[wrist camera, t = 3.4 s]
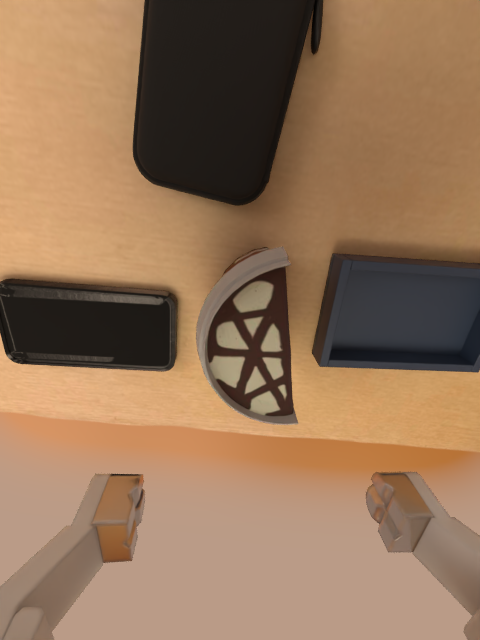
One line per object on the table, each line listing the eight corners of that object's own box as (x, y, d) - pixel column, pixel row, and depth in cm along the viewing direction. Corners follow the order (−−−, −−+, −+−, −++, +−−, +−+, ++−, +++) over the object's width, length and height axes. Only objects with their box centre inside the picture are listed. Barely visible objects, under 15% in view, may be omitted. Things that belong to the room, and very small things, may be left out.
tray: (501, 264, 27) (527, 272, 25) (459, 359, 31) (478, 372, 29) (332, 253, 25) (343, 259, 23) (311, 353, 30) (319, 366, 27)
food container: (191, 238, 24) (173, 268, 15) (264, 228, 24) (290, 253, 15) (214, 363, 29) (210, 441, 20) (275, 355, 29) (298, 430, 20)
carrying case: (269, 213, 24) (335, -32, 18) (276, 217, 21) (356, -72, 15) (136, 179, 22) (161, -102, 17) (123, 177, 19) (149, -160, 14)
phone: (-13, 281, 24) (175, 296, 25) (-4, 277, 25) (177, 291, 26) (8, 364, 27) (174, 373, 28) (16, 357, 28) (176, 366, 29)
